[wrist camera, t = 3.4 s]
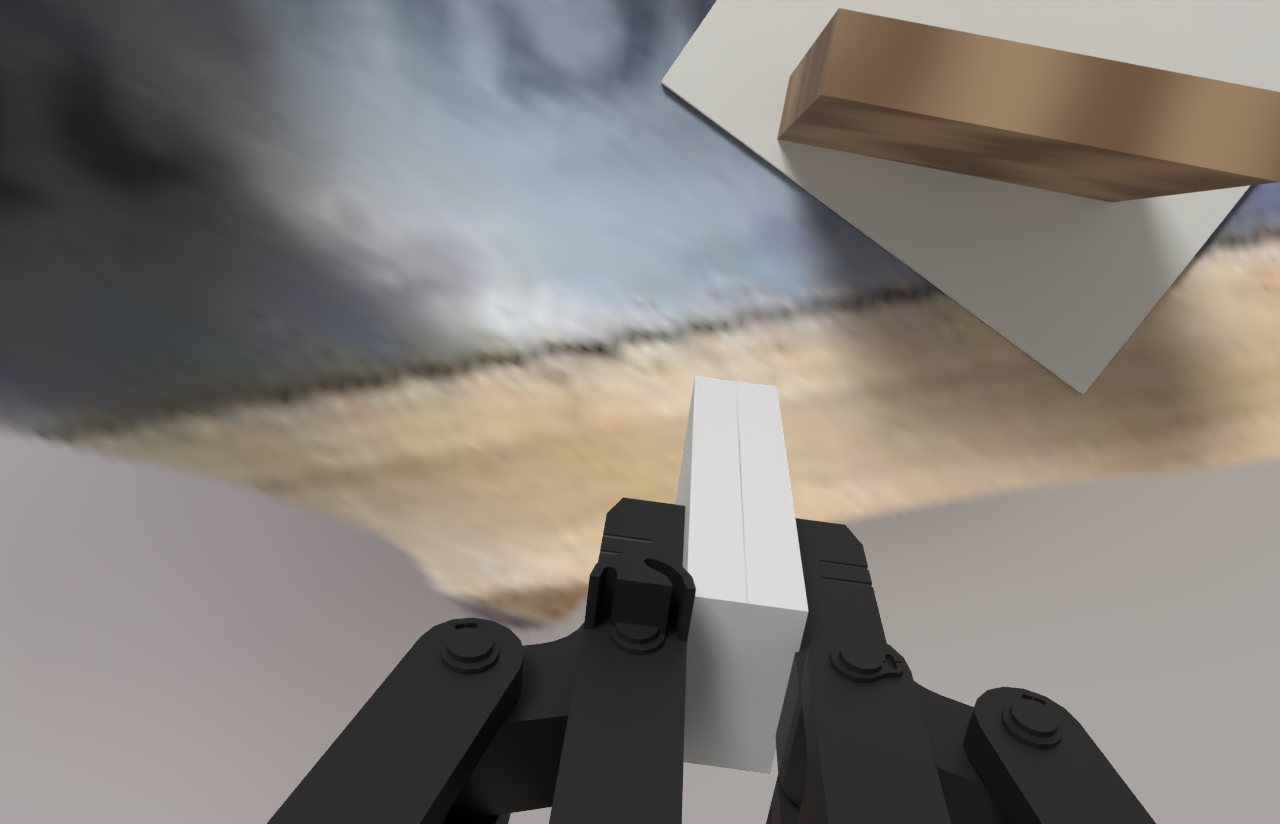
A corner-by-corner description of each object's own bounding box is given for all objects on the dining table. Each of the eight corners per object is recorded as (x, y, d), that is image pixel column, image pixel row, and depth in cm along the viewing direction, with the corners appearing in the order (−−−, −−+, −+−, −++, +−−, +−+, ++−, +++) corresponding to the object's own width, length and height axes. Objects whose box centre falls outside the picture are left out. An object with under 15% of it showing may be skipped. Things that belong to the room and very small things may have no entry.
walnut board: (777, 138, 40) (821, 94, 29) (789, 76, 40) (839, 8, 29) (1112, 202, 40) (1279, 181, 29) (1127, 140, 40) (1303, 96, 29)
